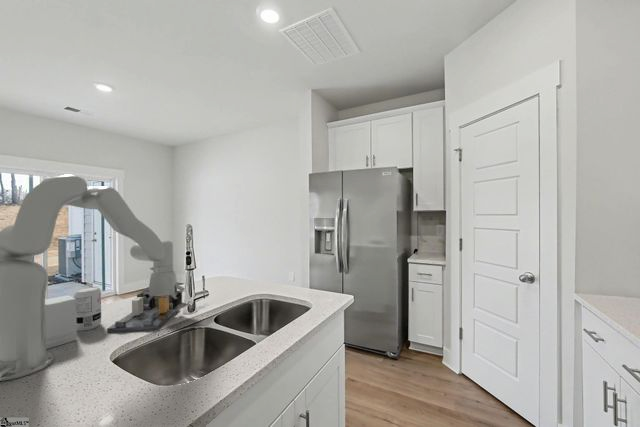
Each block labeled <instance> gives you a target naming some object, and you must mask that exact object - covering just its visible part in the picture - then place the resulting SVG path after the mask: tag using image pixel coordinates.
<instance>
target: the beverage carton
mask: <svg viewBox="0 0 640 427" xmlns="http://www.w3.org/2000/svg"><path fill="white" fill-rule="evenodd" d="M179 292H180V290H177V293H179ZM148 293H149V290H148ZM137 297H143V305H144V304H149V300H148V299H147V298H146V297H145V295H144V293H143V292H140V293H138V294H136V298H137ZM160 297H161V296H155V297H154V298H155V308H159V298H160ZM173 299H174V298H173V297H172V296H171V295H170V296H169V303H173ZM182 303H183V293H182V294H181V295H180V296H179V297H178V305H180V304H182Z"/></svg>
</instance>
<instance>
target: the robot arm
mask: <svg viewBox="0 0 640 427" xmlns="http://www.w3.org/2000/svg"><path fill="white" fill-rule="evenodd" d="M65 205H66V206H67V205H68V206H71V207H75V208H76V207H77V208H81V209H88V210H97V211H98V212H99V213H100V215H101V216H102V217H103V218H104V220H106V222H107V223H108V224H109V226H110V227H111V229H112V230H114V231H115V232H116V233H118V234H120V235H121V236H124V237H126V238H129V239H130V240H132V241H134V242H135V244H133V245H132V246H131V248H130V251H129V253H130V256H131V257H132V258H133V259H135V260H136V261H137V260H138V261H145V262H153V263H152V264H153V266H150V268H149V269H150V270H151V271H152V272H151V274H150V278H149V283H148V284H149V286H148V287H146V288H144V289H143V290H142V292H143V293H144V295H145V297H146V298H147V299H148V300H149V307H150V310H152V309H153V308H156V307H155V298H154V297H155V296H170V295H171V296H172V297H173V298H174V299H173V309H175V308H176V307H179V304H178V297H179V296H180V295H181V294H182V295H183V293H184V291H185V289H186V288H185V287H183V286H181V285H179V284H178V281H177V275H176V272H175V270H174V244H173V242H172V241H171V240H161V239H160V238H159V236H158V235H157V234H156V233H155V231H154V230H152V229H151V228H150V227H149V226H147V225H146V224H145V223H144V222H143V221H141V220H140V219H138V217H137V216H136V215H135V214H134V213H133V211H132V209H131V208H130V207H129V206H128V204H127V203H126V202H125V200H124V198H123V197H122V196H121V194H120V193H119V192H118V191H117V189H115V188H114V187H111V186H105V185H104V186H89V185H88V183H87V181H86V180H85V179H84V178H82V177H81V176H79V175H74V174H64V175H58V176H50V177H47V178H45V179H43V180H42V181H41V182H40V183H39V184H37V185H36V186H35V187H33V188H32V189H31V190H30V191H29V192H28V193H26V195H25V196H24V198H23V199H22V202H21V204H20V205H19V209H18V211H17V215H16V218H15V220H14V224H11V225H8V226H6V227H4V228H3V229H1V230H0V382H3V381H5V382H6V381H10V380H15V379H19V378H23V377H25V376H29V375H32V374H34V373H37V372H38V371H41V370H43V369H45V368H46V367H48V366H49V365H50V364H52V363H53V361H54V355H53V354H51V353H47V349H46V311H45V300H46V296H47V295H46V294H47V288H48V282H49V276H48V272H47V269H46V268H45V267H44V266H43V265H42V264H40V263H38V262H35V261H33V260H34V256H35V257H36V256H38V255H42V254H45V253H46V252H47V251H48V250H49V248H50V247H51V244H52V241H53V236H54V232H55V227H56V224H57V223H56V222H57V219H58V217H59V215H60V214H59V213H60V211H61V210H62V209H63V208H64V206H65ZM148 290H149V293H148ZM177 291H180V292H179V293H177Z"/></svg>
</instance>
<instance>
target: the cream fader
mask: <svg viewBox="0 0 640 427" xmlns="http://www.w3.org/2000/svg"><path fill="white" fill-rule="evenodd" d="M131 310H132V311H131V313H132V316H137V315H140V314H141V313H143V297H137V296H136V298H135V297H134V299H132V300H131Z"/></svg>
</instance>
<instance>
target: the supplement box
mask: <svg viewBox="0 0 640 427" xmlns="http://www.w3.org/2000/svg"><path fill="white" fill-rule="evenodd" d="M45 311H46V350H48V349H51V348H54V347H57V346H61V345H64V344H68V343H71V342H75V341H77V340H78V334H77V332H78V331H77V316H76V299H75V298H74V296H73V297H72V296H71V295H68V294H67V295H61V296H57V297H51V298H45Z"/></svg>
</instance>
